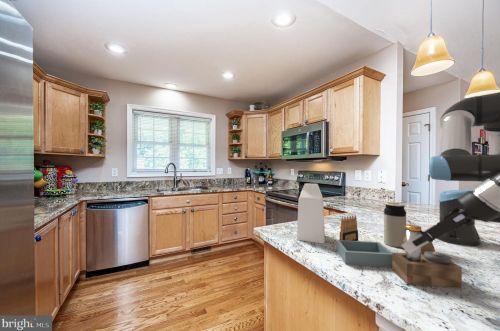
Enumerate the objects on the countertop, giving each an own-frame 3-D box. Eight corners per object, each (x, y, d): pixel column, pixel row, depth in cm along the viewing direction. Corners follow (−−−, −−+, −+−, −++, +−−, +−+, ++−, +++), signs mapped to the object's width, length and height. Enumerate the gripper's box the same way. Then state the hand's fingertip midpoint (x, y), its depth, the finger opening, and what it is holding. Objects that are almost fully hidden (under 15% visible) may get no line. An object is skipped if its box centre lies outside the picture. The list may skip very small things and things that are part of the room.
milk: (296, 239, 97) (296, 184, 98) (300, 232, 108) (300, 182, 108) (323, 243, 93) (323, 185, 93) (325, 235, 104) (324, 183, 104)
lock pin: (416, 275, 66) (416, 224, 66) (424, 281, 62) (424, 228, 62) (403, 274, 66) (402, 224, 66) (410, 280, 62) (410, 227, 62)
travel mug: (382, 244, 91) (382, 203, 91) (386, 240, 97) (385, 201, 97) (404, 249, 86) (404, 206, 86) (407, 244, 91) (407, 203, 92)
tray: (378, 252, 83) (378, 242, 83) (395, 267, 71) (395, 254, 71) (336, 250, 85) (336, 239, 85) (345, 264, 73) (345, 251, 73)
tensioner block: (440, 273, 66) (440, 248, 66) (461, 288, 58) (461, 259, 58) (392, 270, 68) (392, 246, 69) (406, 284, 61) (406, 256, 61)
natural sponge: (401, 251, 83) (401, 227, 83) (430, 256, 79) (430, 230, 79) (404, 260, 76) (404, 233, 76) (437, 266, 71) (437, 237, 71)
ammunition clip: (342, 245, 91) (342, 217, 91) (339, 243, 92) (339, 216, 92) (358, 240, 96) (358, 214, 96) (354, 239, 97) (354, 214, 97)
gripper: (499, 221, 42) (409, 267, 54) (507, 207, 57) (435, 246, 69) (462, 193, 46) (386, 241, 58) (478, 186, 61) (415, 226, 73)
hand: (413, 244), depth 63 cm, fingers open, 13 cm apart
